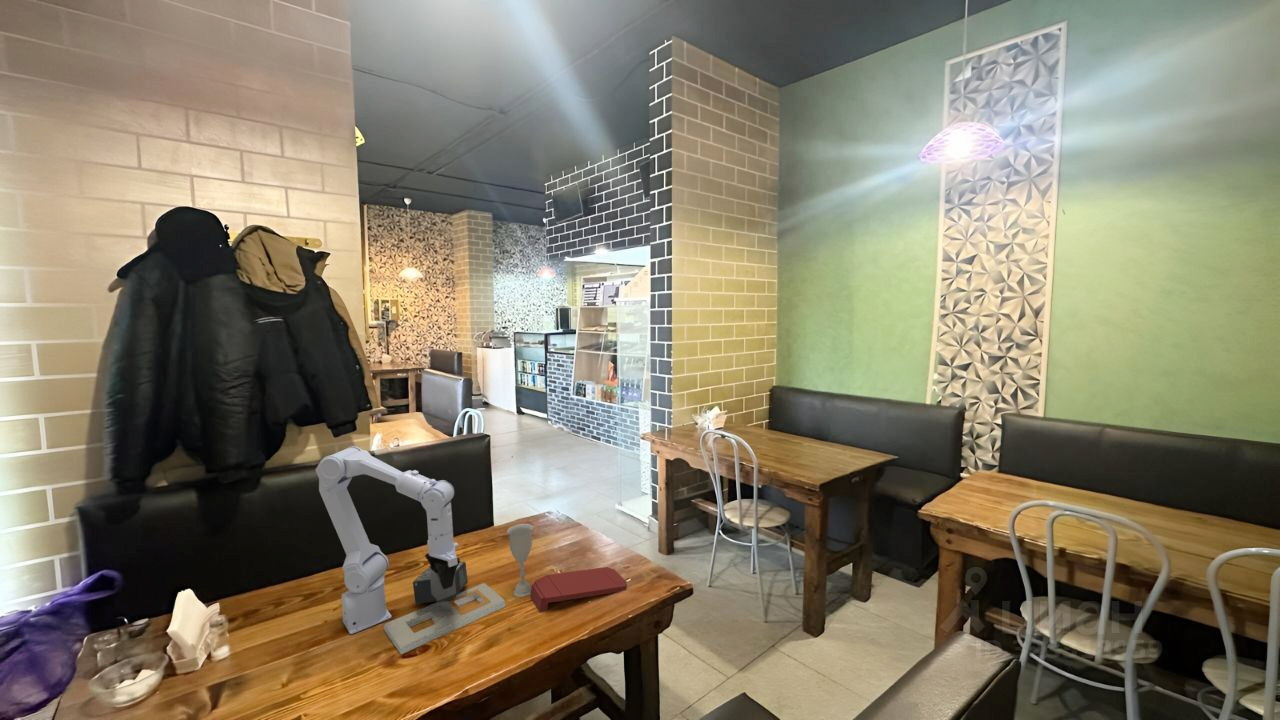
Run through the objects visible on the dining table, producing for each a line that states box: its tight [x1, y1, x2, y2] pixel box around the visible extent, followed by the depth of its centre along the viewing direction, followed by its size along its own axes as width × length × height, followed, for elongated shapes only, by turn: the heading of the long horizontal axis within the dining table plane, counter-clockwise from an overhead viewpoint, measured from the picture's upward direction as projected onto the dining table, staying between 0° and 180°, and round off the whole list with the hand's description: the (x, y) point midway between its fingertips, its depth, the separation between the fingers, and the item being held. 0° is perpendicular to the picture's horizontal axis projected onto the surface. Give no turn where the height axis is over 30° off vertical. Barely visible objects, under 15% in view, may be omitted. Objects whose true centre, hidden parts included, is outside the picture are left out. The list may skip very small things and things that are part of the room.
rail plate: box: [383, 582, 506, 655], centre depth 125 cm, size 26×12×2 cm, turn 133°
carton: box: [529, 566, 627, 613], centre depth 136 cm, size 12×5×25 cm
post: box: [429, 565, 456, 602], centre depth 123 cm, size 4×4×7 cm
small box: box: [412, 561, 469, 605], centre depth 134 cm, size 11×6×10 cm
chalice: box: [507, 523, 534, 598], centre depth 135 cm, size 7×7×18 cm
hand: (443, 583), depth 123 cm, fingers closed on post, 4 cm apart
